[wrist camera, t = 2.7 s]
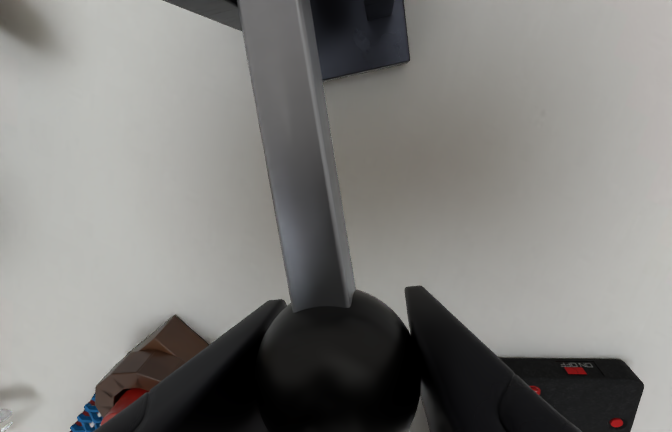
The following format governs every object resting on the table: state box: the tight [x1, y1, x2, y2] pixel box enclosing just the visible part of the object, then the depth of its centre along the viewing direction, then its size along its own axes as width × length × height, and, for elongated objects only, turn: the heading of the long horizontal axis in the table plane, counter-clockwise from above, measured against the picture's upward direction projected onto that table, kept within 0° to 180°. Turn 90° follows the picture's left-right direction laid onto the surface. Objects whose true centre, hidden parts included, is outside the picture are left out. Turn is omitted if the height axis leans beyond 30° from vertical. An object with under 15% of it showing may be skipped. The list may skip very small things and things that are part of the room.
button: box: [101, 388, 149, 425], centre depth 19 cm, size 4×4×2 cm
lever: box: [237, 0, 421, 432], centre depth 6 cm, size 13×3×3 cm, turn 11°
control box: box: [95, 315, 209, 418], centre depth 22 cm, size 10×6×4 cm, turn 41°
